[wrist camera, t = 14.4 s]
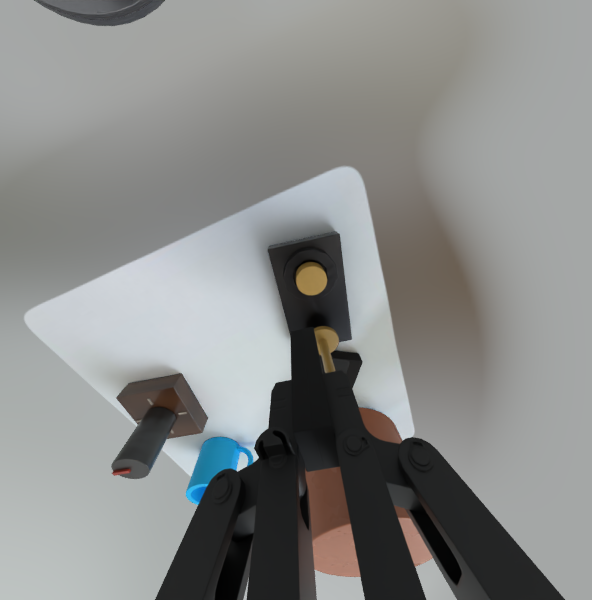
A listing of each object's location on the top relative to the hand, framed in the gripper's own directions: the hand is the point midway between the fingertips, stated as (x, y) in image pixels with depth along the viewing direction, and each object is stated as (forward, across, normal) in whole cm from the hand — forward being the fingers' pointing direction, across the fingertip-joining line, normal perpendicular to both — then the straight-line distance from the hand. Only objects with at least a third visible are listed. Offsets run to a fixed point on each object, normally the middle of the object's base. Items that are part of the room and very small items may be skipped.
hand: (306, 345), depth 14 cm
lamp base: (+17, +2, -4) cm, 18 cm away
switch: (+14, +2, 0) cm, 14 cm away
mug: (+17, -23, -36) cm, 46 cm away
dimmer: (+14, -29, -20) cm, 38 cm away
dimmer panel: (+17, -29, -20) cm, 39 cm away
